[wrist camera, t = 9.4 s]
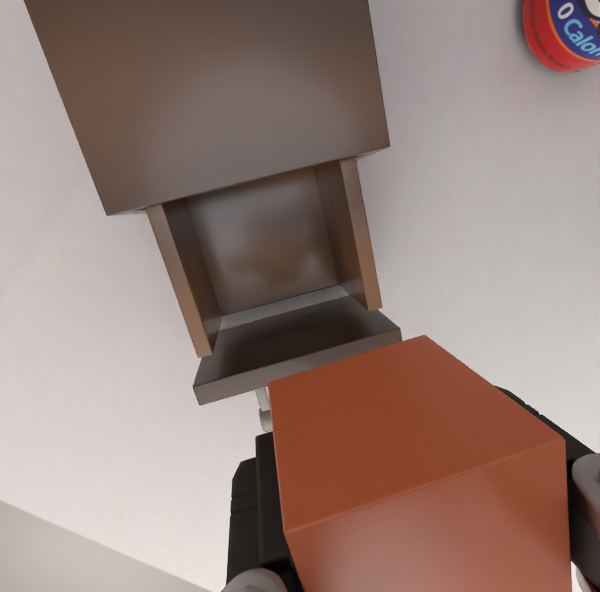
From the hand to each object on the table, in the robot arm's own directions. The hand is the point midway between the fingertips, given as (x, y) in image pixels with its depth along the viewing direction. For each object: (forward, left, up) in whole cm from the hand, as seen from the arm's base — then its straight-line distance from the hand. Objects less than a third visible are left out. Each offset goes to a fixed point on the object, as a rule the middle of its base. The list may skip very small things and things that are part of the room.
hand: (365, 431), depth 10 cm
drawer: (+1, -2, -17) cm, 17 cm away
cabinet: (+1, -15, -17) cm, 23 cm away
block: (0, 0, 0) cm, 0 cm away
